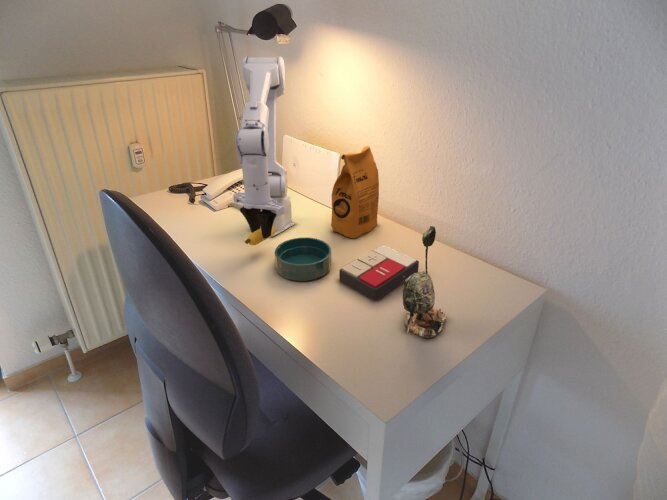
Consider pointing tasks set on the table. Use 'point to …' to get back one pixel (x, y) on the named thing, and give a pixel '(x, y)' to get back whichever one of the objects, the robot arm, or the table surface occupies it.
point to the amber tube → (257, 237)
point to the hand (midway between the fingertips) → (261, 234)
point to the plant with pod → (422, 298)
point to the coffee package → (356, 195)
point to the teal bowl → (303, 259)
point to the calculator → (378, 271)
